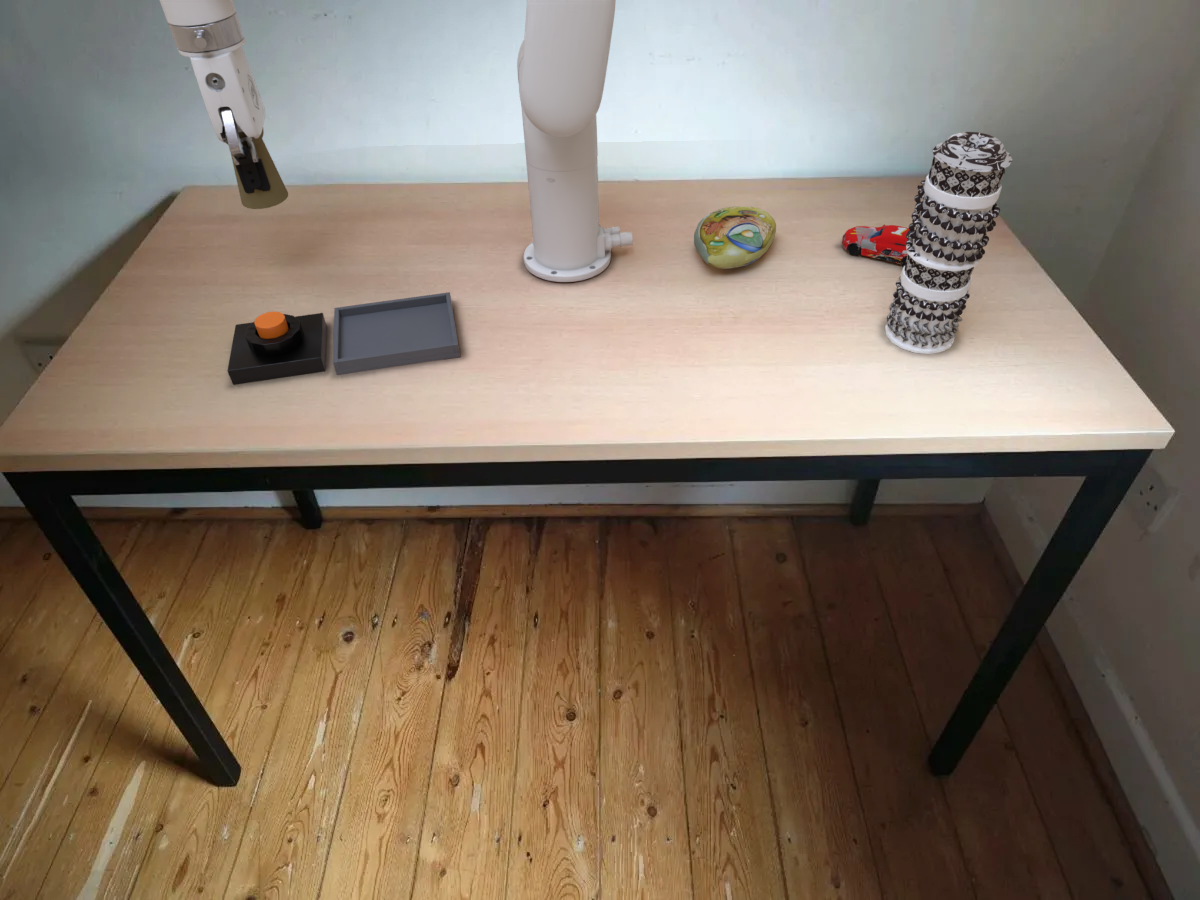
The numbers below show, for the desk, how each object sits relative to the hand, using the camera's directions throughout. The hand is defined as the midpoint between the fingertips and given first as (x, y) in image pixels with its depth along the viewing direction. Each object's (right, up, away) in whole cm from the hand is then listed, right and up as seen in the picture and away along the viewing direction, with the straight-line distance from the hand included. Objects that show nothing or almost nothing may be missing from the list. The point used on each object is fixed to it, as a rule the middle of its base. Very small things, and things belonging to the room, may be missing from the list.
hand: (259, 181), depth 109 cm
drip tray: (+18, -21, -1) cm, 28 cm away
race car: (+86, -7, +11) cm, 87 cm away
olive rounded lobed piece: (0, -2, +2) cm, 2 cm away
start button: (+4, -20, -5) cm, 21 cm away
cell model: (+64, -6, +13) cm, 66 cm away
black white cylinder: (+85, -21, -3) cm, 88 cm away
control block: (+4, -23, -3) cm, 24 cm away
